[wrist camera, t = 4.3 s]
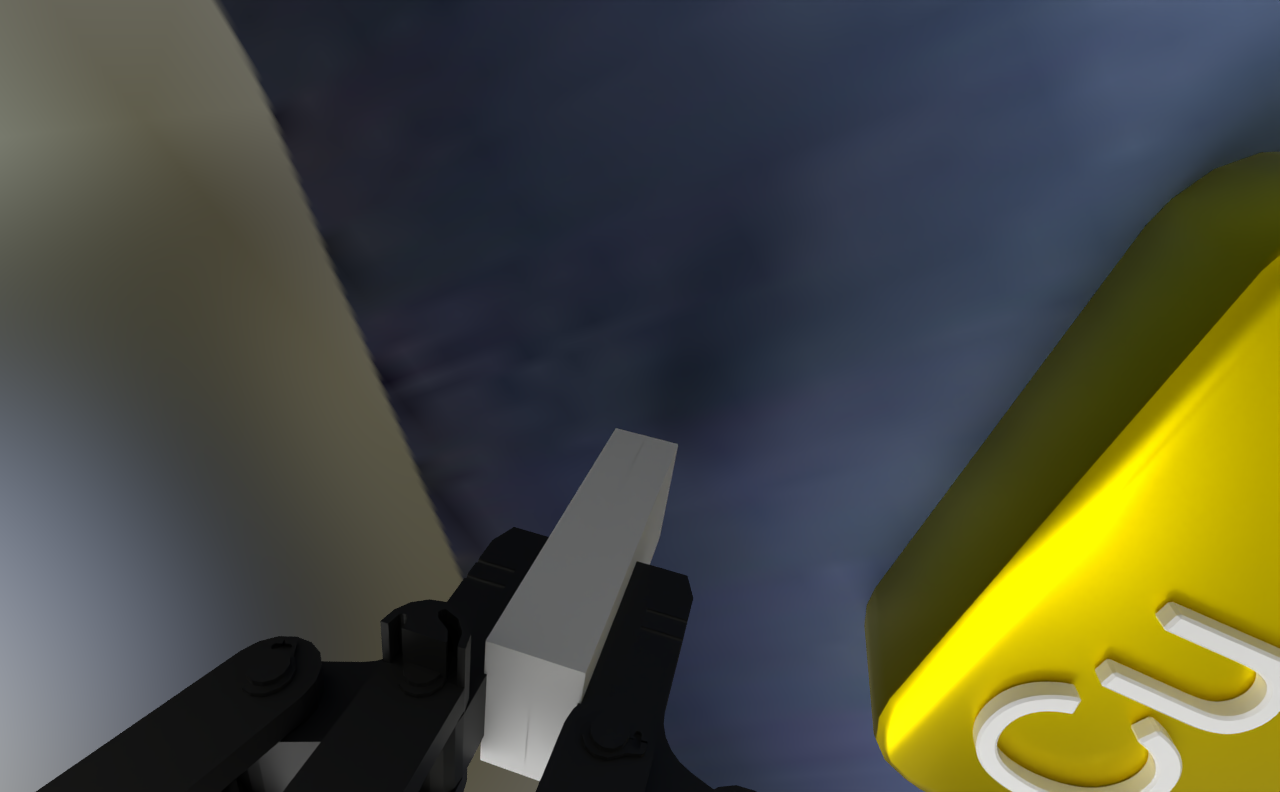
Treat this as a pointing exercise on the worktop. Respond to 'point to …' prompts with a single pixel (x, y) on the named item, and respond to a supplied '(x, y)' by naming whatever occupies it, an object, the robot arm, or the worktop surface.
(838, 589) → the worktop surface
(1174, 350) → the element tile
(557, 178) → the worktop surface
